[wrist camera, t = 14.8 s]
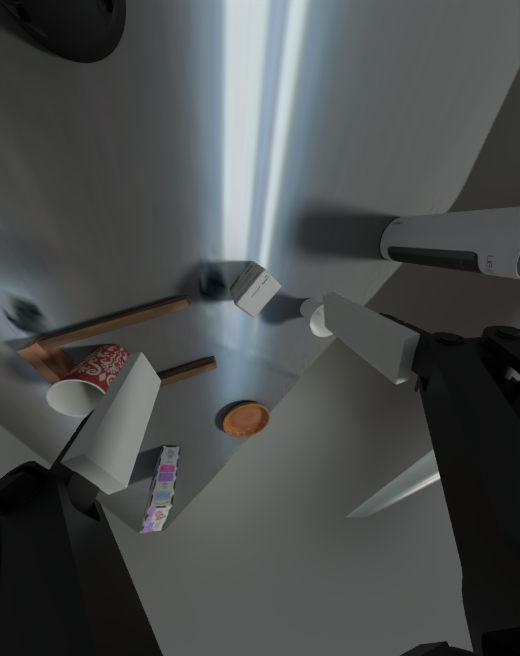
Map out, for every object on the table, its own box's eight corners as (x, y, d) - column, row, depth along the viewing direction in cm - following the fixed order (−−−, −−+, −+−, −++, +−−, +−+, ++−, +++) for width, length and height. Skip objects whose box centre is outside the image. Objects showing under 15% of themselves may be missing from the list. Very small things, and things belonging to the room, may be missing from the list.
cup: (326, 313, 54) (348, 329, 46) (296, 325, 54) (313, 343, 45) (322, 285, 50) (345, 296, 41) (290, 298, 49) (307, 311, 41)
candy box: (162, 444, 62) (148, 508, 48) (181, 445, 64) (173, 506, 50) (153, 470, 67) (138, 535, 52) (171, 470, 69) (161, 532, 55)
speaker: (373, 235, 47) (524, 237, 25) (408, 205, 46) (602, 179, 23) (385, 268, 52) (520, 295, 30) (417, 242, 51) (583, 249, 28)
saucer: (238, 436, 70) (239, 444, 67) (212, 414, 62) (213, 422, 59) (275, 414, 69) (277, 421, 67) (254, 390, 61) (256, 396, 59)
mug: (86, 367, 45) (42, 414, 33) (92, 335, 42) (47, 375, 30) (144, 378, 50) (125, 422, 38) (153, 350, 47) (135, 389, 35)
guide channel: (37, 338, 40) (16, 351, 35) (187, 294, 43) (184, 301, 39) (97, 400, 49) (87, 416, 45) (216, 361, 53) (216, 372, 48)
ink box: (244, 300, 47) (254, 319, 37) (228, 288, 45) (234, 305, 34) (266, 273, 45) (283, 285, 35) (251, 259, 43) (264, 268, 33)
